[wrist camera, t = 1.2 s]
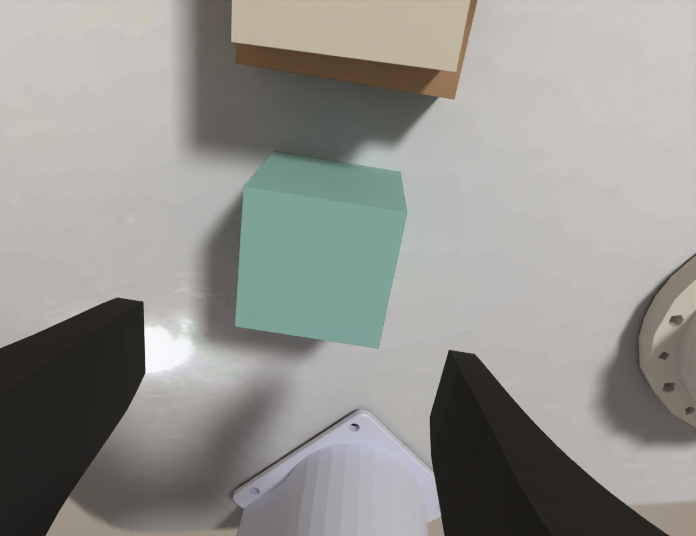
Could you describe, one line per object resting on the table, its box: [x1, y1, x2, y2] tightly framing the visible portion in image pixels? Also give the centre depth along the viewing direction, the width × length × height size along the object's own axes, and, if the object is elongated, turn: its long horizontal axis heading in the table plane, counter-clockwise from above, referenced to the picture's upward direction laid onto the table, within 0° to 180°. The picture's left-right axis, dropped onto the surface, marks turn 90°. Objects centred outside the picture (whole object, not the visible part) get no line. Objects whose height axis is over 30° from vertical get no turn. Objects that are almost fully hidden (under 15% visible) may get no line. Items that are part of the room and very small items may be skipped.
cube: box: [235, 151, 407, 349], centre depth 19 cm, size 5×5×5 cm
